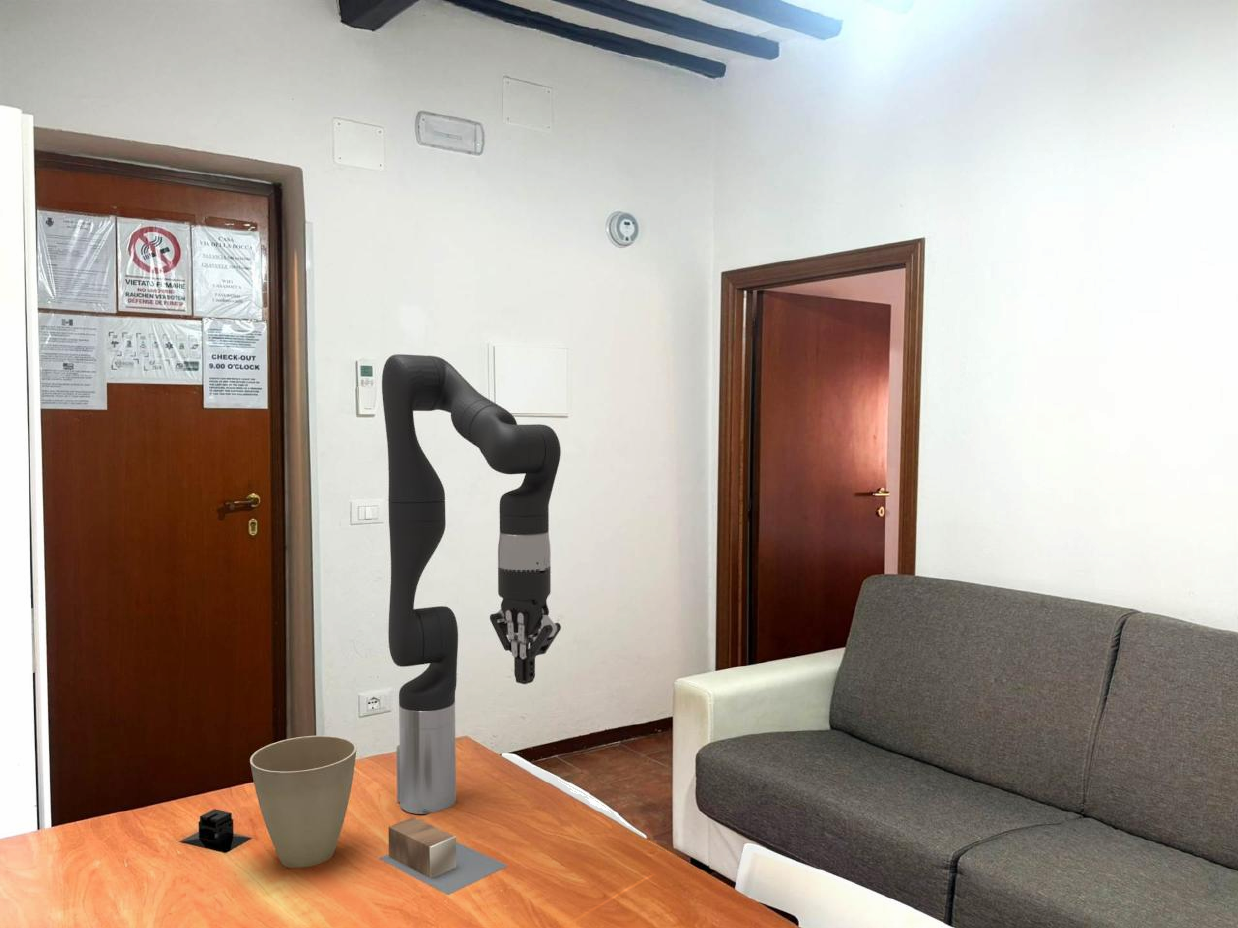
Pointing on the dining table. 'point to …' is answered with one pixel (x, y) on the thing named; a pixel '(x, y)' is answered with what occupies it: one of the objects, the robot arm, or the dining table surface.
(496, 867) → the rubber mat
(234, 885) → the dining table surface
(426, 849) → the walnut block
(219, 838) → the slotted block on plate
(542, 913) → the dining table surface
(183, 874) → the dining table surface
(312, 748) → the plant pot
